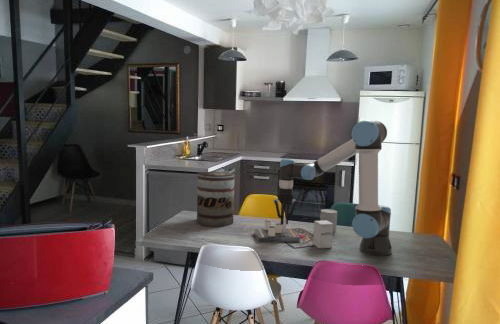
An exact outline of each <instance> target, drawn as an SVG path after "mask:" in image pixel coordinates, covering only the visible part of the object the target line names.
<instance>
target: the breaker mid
mask: <svg viewBox="0 0 500 324" xmlns="http://www.w3.org/2000/svg"><path fill="white" fill-rule="evenodd" d="M274 227H275V233H282V224H281V222H280V223H277V222H276V223H274Z"/></svg>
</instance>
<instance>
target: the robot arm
mask: <svg viewBox="0 0 500 324" xmlns="http://www.w3.org/2000/svg"><path fill="white" fill-rule="evenodd" d="M387 136H388V128H387V127H386V125H385V124H384V123H383V122H381V121H379V120H371V119H365V120H361V121H359V122H357V123H355V125H354V126H353V128H352V131H351V139H350V140H348V141H346V142H344V143H343V144H341V145H340V146H338V147H336V148H335V149H333V150H331V151H330V152H328V153H326V154H325V155H323V156H320V158H318V159H317V160H315V161H313V162H310V163H305V164H303V163H302V164H301V163H295V160H294V159H292V158H281V160H280V163H279V177H278V179H279V180H278V181H279V182H278V186H279V187H278V195H277V198H276V199H273V200H272V201H273V203H274V205H275V206H274V207H275V210H276V215H277V218H279V219H280V223H281V224H282V230H283V231H286V229H287V225H288V224H289V219H291V218H292V217H293V213H294V210H295V206H296V204H297V203H298V201H297V199H294V197H293V195H294V193H293V191H294V190H293V187H294V179H301V180H309V181H311V180H314V178H317V177H319V176H322V175H323V174H324V173H325V172H326V171H328V170H330V169H332V168H334V167H335V166H337V165H339V164H340V163H343V162H344V161H346V160H348V159H350V158H351V157H353V156H355V155H357V154H358V205H356V206H355V207H354V209H355V210H354V211H355V216H354V217H353V219H352V223H351V226H352V229H353V231H354V233H355V234H356V235H357V236H358V237H361V238H362V239H361V242H360V243H359V250H360V251H362V252H363V253H366V254H369V255H372V256H374V255H375V256H389V255H391V254H392V253H393V247H392V243H391V239H390V229H391V217H392V212H391V211H392V210H391V208H390V206H385V205H380V204H379V153H380V152H381V150H382V143H383V142H384V141H385V140H386V139H387ZM279 203H280V206H279ZM290 204H291V206H290Z"/></svg>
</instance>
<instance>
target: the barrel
mask: <svg viewBox="0 0 500 324" xmlns="http://www.w3.org/2000/svg"><path fill="white" fill-rule="evenodd" d="M235 178H236V177H235V174H234V173H232V172H228V171H227V172H226V171H204V172H202V171H201V172H198V173H197V187H196V188H197V193H196V194H197V196H196V198H197V200H196V201H197V202H196V203H197V204H196V224H198V225H200V226H202V227H209V228H221V227H223V228H225V227H228V226H231V225H233V224H234V213H235V212H234V207H235V205H234V204H235Z"/></svg>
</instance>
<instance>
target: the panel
mask: <svg viewBox="0 0 500 324" xmlns="http://www.w3.org/2000/svg"><path fill="white" fill-rule="evenodd" d="M254 236H255V237H256V239H257V242H258V243H299V242H300V243H301V237H300V235H299V234H298V233H297V232H296V230H294V229H293V228H286V231H283V230H282V233H275V236H268V230H265V229H264V228H263V229H261V228H259V229H258V228H257V229H255V228H254Z"/></svg>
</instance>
